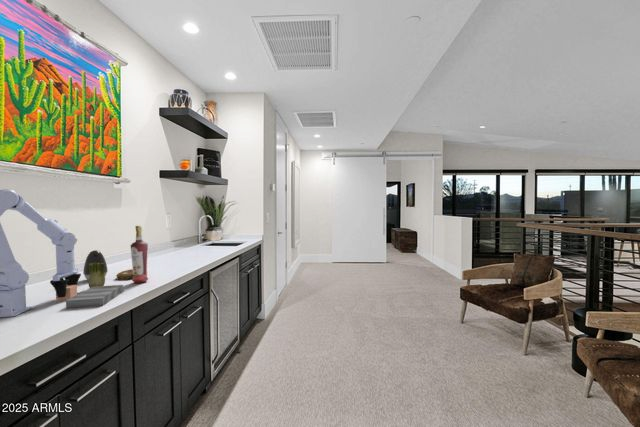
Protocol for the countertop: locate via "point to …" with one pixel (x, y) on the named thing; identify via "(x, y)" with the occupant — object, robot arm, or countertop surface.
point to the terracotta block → (68, 293)
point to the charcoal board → (94, 296)
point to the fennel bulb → (96, 275)
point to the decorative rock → (125, 275)
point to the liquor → (139, 257)
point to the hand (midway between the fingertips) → (66, 294)
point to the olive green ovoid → (94, 258)
